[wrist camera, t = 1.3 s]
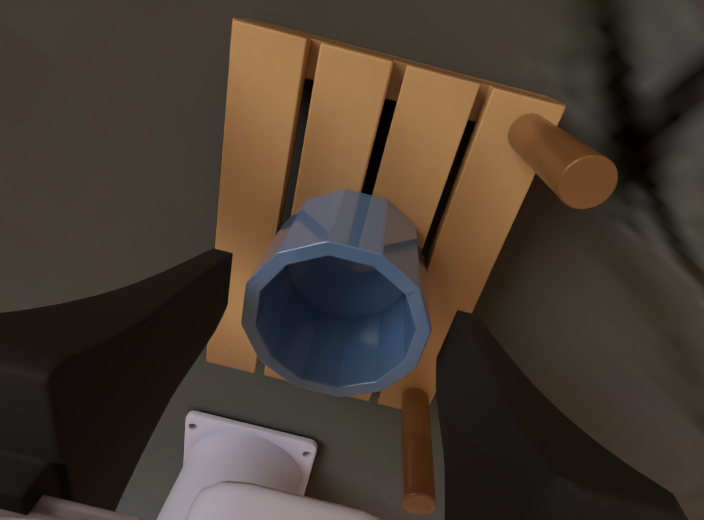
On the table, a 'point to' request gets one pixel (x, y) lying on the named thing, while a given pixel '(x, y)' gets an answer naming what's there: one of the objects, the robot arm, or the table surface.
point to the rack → (386, 182)
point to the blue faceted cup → (340, 296)
